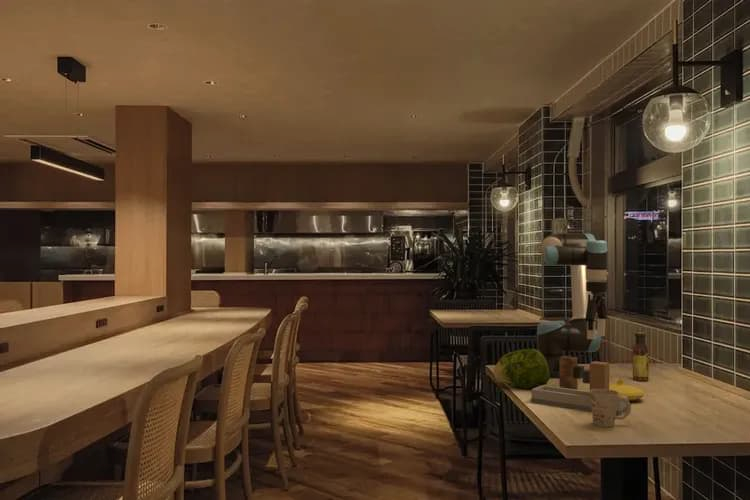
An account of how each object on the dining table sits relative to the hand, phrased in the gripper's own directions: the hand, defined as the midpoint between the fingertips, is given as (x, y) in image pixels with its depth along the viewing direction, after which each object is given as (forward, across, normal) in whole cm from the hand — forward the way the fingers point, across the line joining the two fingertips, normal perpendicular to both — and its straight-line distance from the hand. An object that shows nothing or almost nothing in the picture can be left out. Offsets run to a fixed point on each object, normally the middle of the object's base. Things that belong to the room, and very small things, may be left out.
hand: (596, 337), depth 241 cm
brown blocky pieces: (+21, -26, -1) cm, 33 cm away
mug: (+22, -44, -16) cm, 52 cm away
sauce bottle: (+21, +38, -8) cm, 44 cm away
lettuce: (+21, -6, +27) cm, 35 cm away
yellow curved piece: (+21, -5, -10) cm, 24 cm away
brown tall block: (+21, -10, +6) cm, 24 cm away
